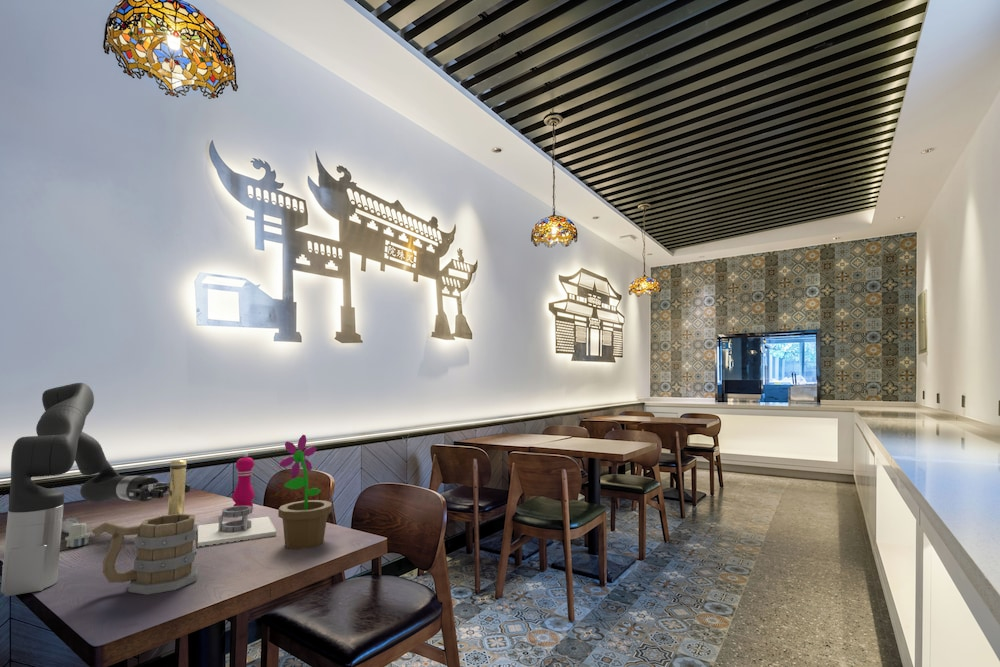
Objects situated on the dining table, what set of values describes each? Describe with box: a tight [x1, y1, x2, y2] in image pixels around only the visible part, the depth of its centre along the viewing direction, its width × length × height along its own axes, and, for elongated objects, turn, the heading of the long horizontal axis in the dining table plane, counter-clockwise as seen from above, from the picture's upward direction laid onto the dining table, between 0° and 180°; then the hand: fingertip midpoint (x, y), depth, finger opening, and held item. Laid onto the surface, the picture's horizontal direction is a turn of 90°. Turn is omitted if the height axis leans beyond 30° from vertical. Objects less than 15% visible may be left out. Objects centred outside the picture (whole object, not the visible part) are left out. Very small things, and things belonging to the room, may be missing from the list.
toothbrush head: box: [61, 517, 91, 548], centre depth 146 cm, size 5×7×25 cm
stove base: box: [197, 505, 277, 548], centre depth 151 cm, size 20×20×7 cm
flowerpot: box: [277, 434, 333, 550], centre depth 142 cm, size 14×14×30 cm
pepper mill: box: [231, 452, 256, 509], centre depth 181 cm, size 7×7×20 cm
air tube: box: [167, 459, 188, 515], centre depth 148 cm, size 4×4×22 cm
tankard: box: [91, 513, 199, 596], centre depth 111 cm, size 20×13×15 cm, turn 118°
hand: (176, 491), depth 149 cm, fingers open, 8 cm apart
